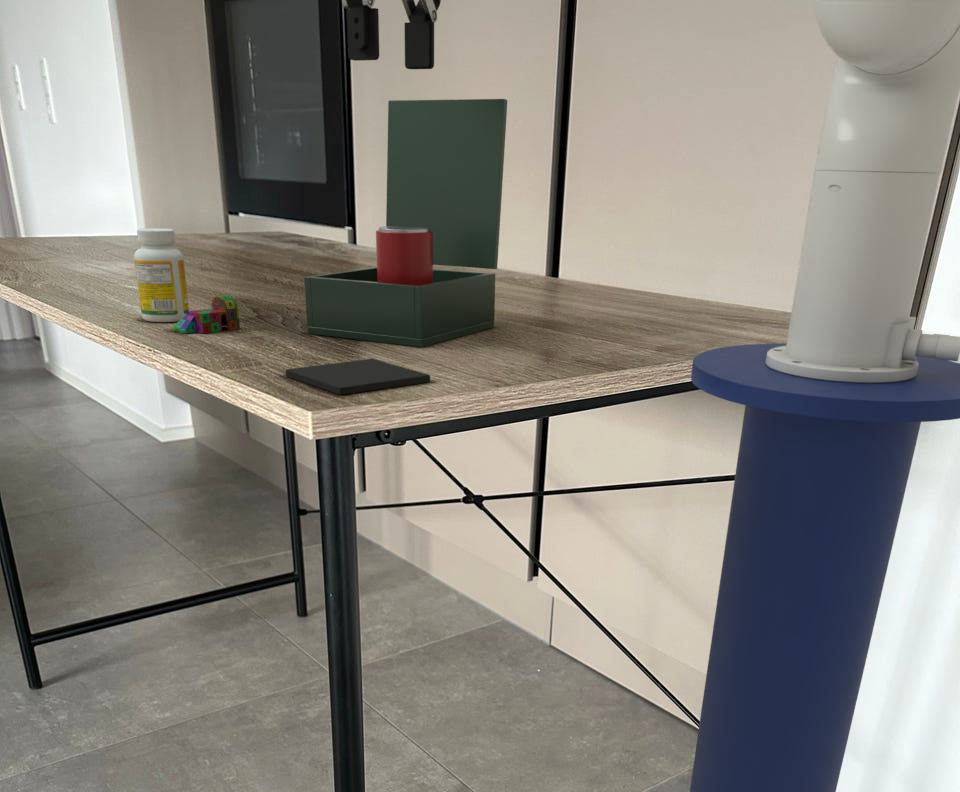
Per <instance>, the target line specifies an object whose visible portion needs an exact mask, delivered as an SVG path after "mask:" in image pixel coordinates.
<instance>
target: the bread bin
mask: <svg viewBox="0 0 960 792" xmlns="http://www.w3.org/2000/svg"><path fill="white" fill-rule="evenodd" d="M303 281H304V295H305V311H306V324H307V325H306V326H307V334H308V335H315V336H323V337H324V336H325V337H331V338H332V337H333V338H341V339H347V340H349V339H350V340H356V341H357V340H358V341H367V342H376V343H382V344H392V345H400V346H408V347H409V346H410V347H416V348H423V347H426V346H432V345H434V344H438V343H442V342H446V341H449V340H453V339H457V338H460V337H464V336H468V335H470V334H475V333H478V332H482V331H487V330H489V329H493V328H495V311H496V310H495V309H496V273H493V272H481V271H470V270H469V271H467V270H455V269H454V270H452V269H442V268H441V269H440V268H433V283H431V284H425V285H420V286H417V285H405V284H394V283H382V282H377V266H373V267H364V268H357V269H350V270H344V271H337V272H329V273H321V274H315V275H308V276H304V277H303Z"/></svg>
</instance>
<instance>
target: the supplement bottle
mask: <svg viewBox="0 0 960 792" xmlns="http://www.w3.org/2000/svg"><path fill="white" fill-rule="evenodd" d="M136 233H137V234H136V235H137V241H138V244H140V248H138V249H137V250H136V251H135V252H134V254H133V260H134V261H133V262H134V268H135V274H136V275H135V276H136V282H137V291H138V299H139V303H140V304H139V305H140V311H141V317H142V319H143V320H144V321H146V322H151V323H177V322H179V321H180V320H181V319H182V318H184V317H185V316H186V315H187V311H190V307H189V299H188V298H189V295H188V287H187V279H186V269H185V261H184V260H185V259H184V255H183V253H182V252H181V250H179V249H178V248H175V247H174V244H175V243H176V234H175V230H174V229H172V228H162V227H161V228H158V227H157V228H155V227H153V228H150V227H149V228H147V227H146V228H137V229H136Z"/></svg>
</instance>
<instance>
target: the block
mask: <svg viewBox="0 0 960 792" xmlns="http://www.w3.org/2000/svg"><path fill="white" fill-rule="evenodd" d="M223 327H226V331H228V332H229V331H236V330H240V329H241V326H240V315H239V307H238V303H237V301H236V299H235V298H234V297H233V295H230V294H229V295H219V296H218V295H217V296H214V297H213V298H212V301H211V308H204V309H195V310H189V311H187V315H186V316H185V317H184V318H182V319H181V320H180V321H177V322H175V323H174V325H172V326H171V327H170V328H171V331H172V332H176V333H181V334H192V333H194V334H195V333H197V334H203V335H206V334H212V333H213V334H214V333H221V332H223Z"/></svg>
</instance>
